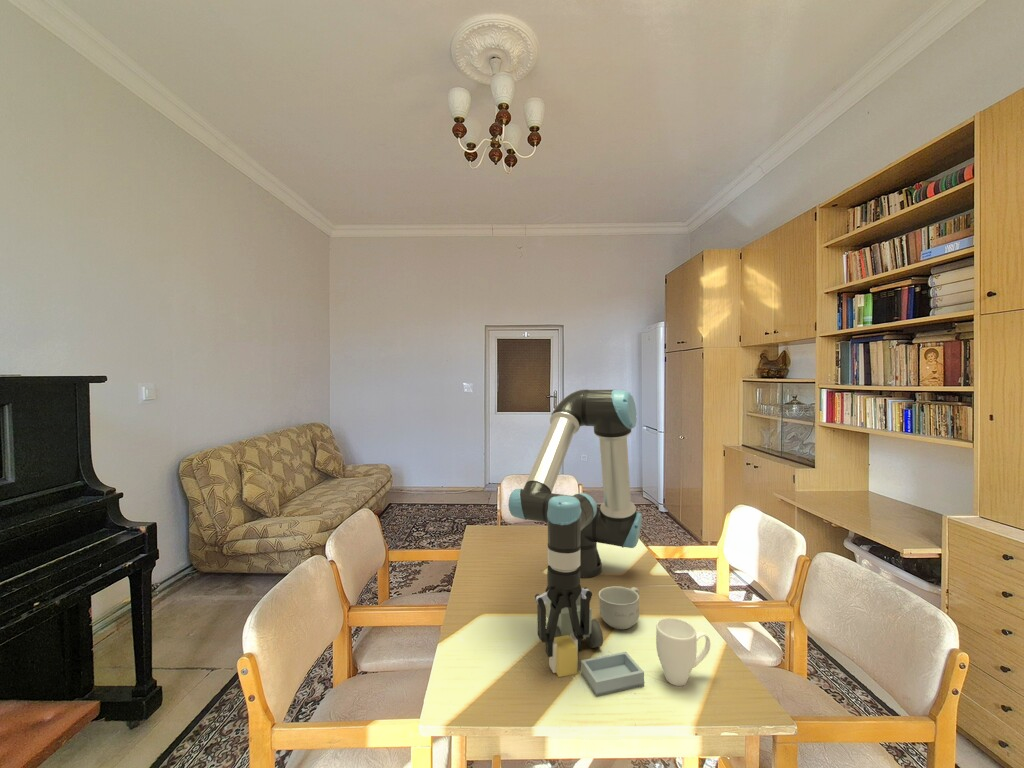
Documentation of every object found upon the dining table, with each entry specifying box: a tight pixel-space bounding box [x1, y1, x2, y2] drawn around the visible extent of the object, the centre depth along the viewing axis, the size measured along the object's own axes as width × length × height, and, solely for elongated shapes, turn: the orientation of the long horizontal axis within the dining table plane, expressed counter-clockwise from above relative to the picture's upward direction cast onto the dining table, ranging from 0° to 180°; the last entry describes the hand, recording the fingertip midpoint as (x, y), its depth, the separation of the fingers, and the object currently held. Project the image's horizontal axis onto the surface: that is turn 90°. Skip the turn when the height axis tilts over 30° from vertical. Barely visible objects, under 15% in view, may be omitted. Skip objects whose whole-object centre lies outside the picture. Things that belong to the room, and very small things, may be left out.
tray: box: [580, 651, 645, 698], centre depth 95 cm, size 11×7×3 cm, turn 106°
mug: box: [655, 617, 711, 687], centre depth 96 cm, size 12×8×11 cm
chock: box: [554, 635, 578, 678], centre depth 99 cm, size 4×5×6 cm
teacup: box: [598, 585, 640, 630], centre depth 119 cm, size 14×11×8 cm
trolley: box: [546, 595, 604, 649], centre depth 109 cm, size 13×12×12 cm
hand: (563, 666), depth 99 cm, fingers closed on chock, 4 cm apart
